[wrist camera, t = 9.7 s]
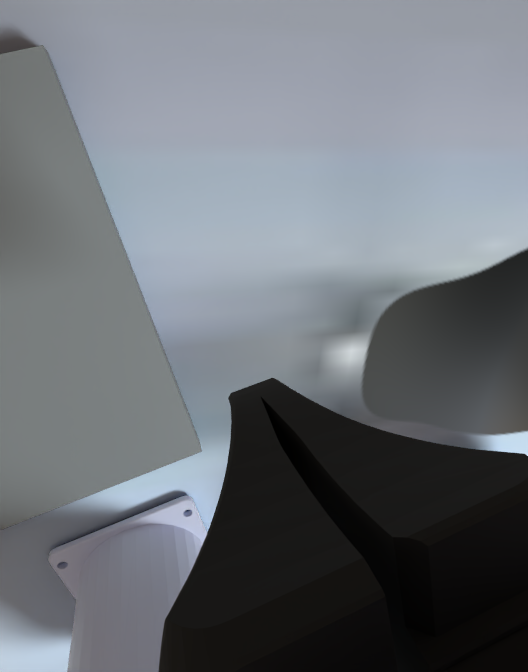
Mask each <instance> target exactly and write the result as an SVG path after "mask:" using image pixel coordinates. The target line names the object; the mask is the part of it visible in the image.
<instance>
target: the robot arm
mask: <svg viewBox="0 0 528 672" xmlns="http://www.w3.org/2000/svg"><path fill="white" fill-rule="evenodd" d="M228 399H229V402H230V405H231V419H232V424H231V441H230V449H229V456H228V463H227V468H226V473H225V478H224V482H223V486H222V490H221V494H220V498H219V501H218V504H217V507H216V510H215V513H214V516H213V519H212V522H211V525H210V528H209V530H208V533H207V531H206V528H205V526H204V524H203V522H202V519H201V517H200V515H199V512H198V510H197V508H196V505H195V503H194V501H193V499H192V498H191V497H190V496H182V497H179V498H177V499H174V500H172V501H169V502H167V503H164V504H162V505H160V506H157V507H155V508H152V509H150V510H147V511H145V512H142V513H140V514H137V515H135V516H133V517H130V518H128V519H125V520H123V521H120V522H118V523H115V524H113V525H110V526H108V527H106V528H103V529H101V530H98V531H96V532H93V533H91V534H88V535H86V536H83V537H81V538H79V539H76V540H74V541H71V542H69V543H66V544H64V545H61V546H59V547H56V548H54V549H53V550H51V552H50V553H49V558H48V562H49V563H50V565H51V566H52V568H53V569H54V570H55V572H56V573H57V575H58V576H59V577H60V579H61V580H62V582H63V583H64V584H65V586H66V587H67V588H68V590H69V591H70V593H71V594H72V595H73V597H74V598H75V600H76V606H75V614H74V622H73V630H72V638H71V646H70V654H69V662H68V670H67V672H528V456H527V455H525V454H519V453H508V452H498V451H487V450H476V449H468V448H461V447H455V446H448V445H442V444H437V443H431V442H426V441H421V440H417V439H413V438H409V437H405V436H401V435H397V434H393V433H390V432H386V431H383V430H380V429H377V428H374V427H371V426H368V425H365V424H362V423H359V422H356V421H354V420H351V419H349V418H346V417H344V416H342V415H340V414H337V413H335V412H333V411H331V410H329V409H327V408H325V407H323V406H321V405H319V404H317V403H315V402H313V401H312V400H310V399H308V398H306V397H304V396H303V395H301V394H299V393H297V392H296V391H294V390H292V389H291V388H289V387H288V386H286V385H284V384H283V383H281V382H280V381H278V380H276V379H274V378H271V379H268V380H265V381H262V382H260V383H257V384H254V385H252V386H249V387H246V388H244V389H241V390H238V391H236V392H233V393H231V394H230V396H229V398H228ZM186 510H190V511H188V512H184V511H186ZM60 562H65V563H60Z"/></svg>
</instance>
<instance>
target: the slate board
mask: <svg viewBox="0 0 528 672" xmlns="http://www.w3.org/2000/svg"><path fill="white" fill-rule="evenodd" d="M199 452H202V450H201V446H200V442H199V439H198V436H197V433H196V431H195V428H194V426H193V423H192V421H191V418H190V415H189V413H188V410H187V408H186V405H185V403H184V400H183V397H182V395H181V392H180V390H179V387H178V385H177V382H176V380H175V377H174V374H173V372H172V369H171V367H170V364H169V362H168V359H167V356H166V354H165V351H164V349H163V346H162V344H161V341H160V338H159V336H158V333H157V331H156V328H155V326H154V323H153V320H152V318H151V315H150V313H149V310H148V308H147V305H146V303H145V300H144V297H143V295H142V292H141V290H140V287H139V285H138V282H137V279H136V277H135V274H134V272H133V269H132V267H131V264H130V261H129V259H128V256H127V254H126V251H125V249H124V246H123V243H122V241H121V238H120V236H119V233H118V231H117V228H116V225H115V223H114V220H113V218H112V215H111V213H110V210H109V208H108V205H107V202H106V200H105V197H104V195H103V192H102V190H101V187H100V184H99V182H98V179H97V177H96V174H95V172H94V169H93V166H92V164H91V161H90V159H89V156H88V154H87V151H86V148H85V146H84V143H83V141H82V138H81V136H80V133H79V131H78V128H77V125H76V123H75V120H74V118H73V115H72V113H71V110H70V107H69V105H68V102H67V100H66V97H65V95H64V92H63V89H62V87H61V84H60V82H59V79H58V77H57V74H56V71H55V69H54V66H53V64H52V61H51V59H50V56H49V54H48V52H47V50H46V49H45V48H44V46H43V45H42V46H37V47H32V48H27V49H22V50H17V51H12V52H8V53H3V54H0V530H3V529H5V528H8V527H10V526H13V525H15V524H18V523H20V522H23V521H26V520H28V519H31V518H33V517H36V516H38V515H41V514H43V513H46V512H49V511H51V510H54V509H56V508H59V507H61V506H64V505H66V504H69V503H72V502H74V501H77V500H79V499H82V498H84V497H87V496H89V495H92V494H94V493H97V492H100V491H102V490H105V489H107V488H110V487H112V486H115V485H117V484H120V483H123V482H125V481H128V480H130V479H133V478H135V477H138V476H140V475H143V474H146V473H148V472H151V471H153V470H156V469H158V468H161V467H163V466H166V465H169V464H171V463H174V462H176V461H179V460H181V459H184V458H186V457H189V456H192V455H194V454H197V453H199Z"/></svg>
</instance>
